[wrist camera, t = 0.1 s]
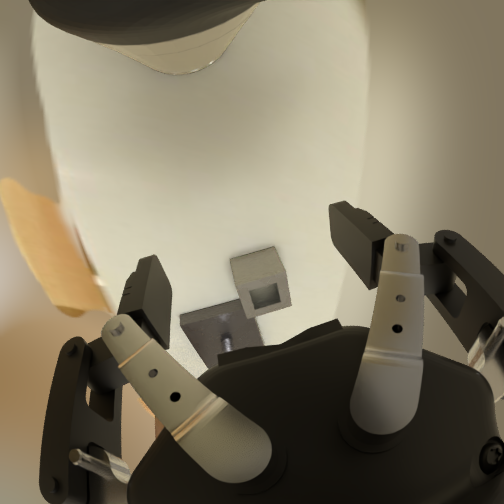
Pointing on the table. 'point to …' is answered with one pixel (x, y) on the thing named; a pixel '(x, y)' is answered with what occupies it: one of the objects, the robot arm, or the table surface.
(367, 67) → the table surface
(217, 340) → the shaft block
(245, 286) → the collar
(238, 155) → the table surface
